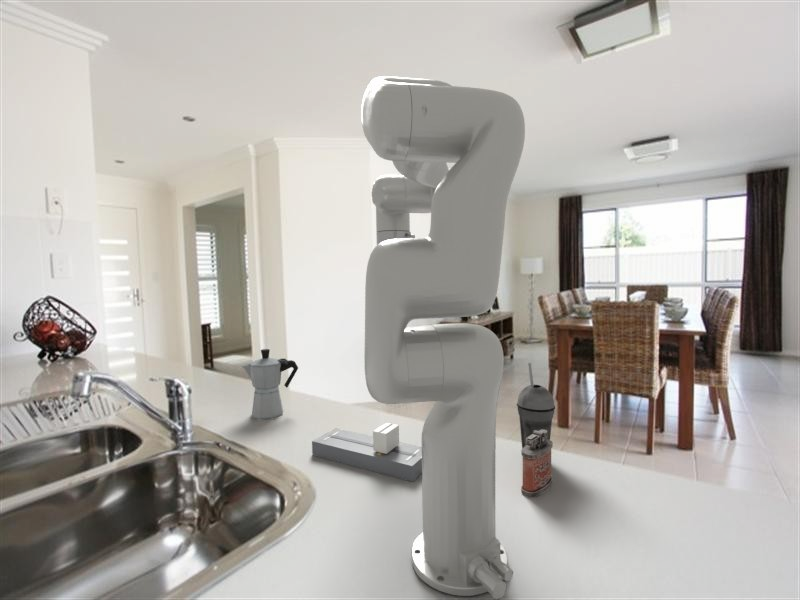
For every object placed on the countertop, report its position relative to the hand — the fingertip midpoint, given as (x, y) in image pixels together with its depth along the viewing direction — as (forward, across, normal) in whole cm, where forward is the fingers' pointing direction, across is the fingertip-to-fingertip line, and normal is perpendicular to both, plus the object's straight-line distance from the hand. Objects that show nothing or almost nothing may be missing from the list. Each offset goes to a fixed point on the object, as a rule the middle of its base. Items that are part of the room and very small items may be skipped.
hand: (394, 321), depth 93 cm
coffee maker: (+27, +39, +2) cm, 47 cm away
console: (+27, -1, +12) cm, 30 cm away
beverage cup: (+27, -31, -2) cm, 41 cm away
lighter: (+27, -33, +8) cm, 43 cm away
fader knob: (+24, -5, +12) cm, 27 cm away
